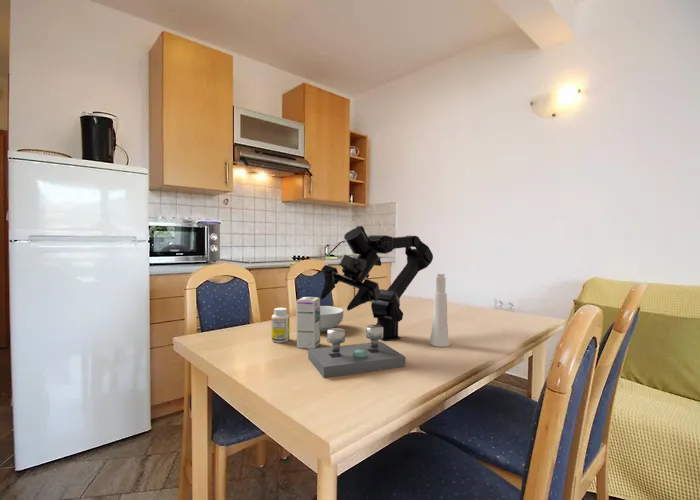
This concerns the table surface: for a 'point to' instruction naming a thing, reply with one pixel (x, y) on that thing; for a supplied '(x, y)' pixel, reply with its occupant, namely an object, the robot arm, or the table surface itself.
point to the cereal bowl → (329, 317)
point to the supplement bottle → (280, 325)
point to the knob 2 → (374, 334)
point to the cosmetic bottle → (440, 315)
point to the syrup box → (308, 322)
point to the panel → (354, 359)
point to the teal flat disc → (360, 354)
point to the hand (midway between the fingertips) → (334, 303)
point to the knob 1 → (336, 338)
